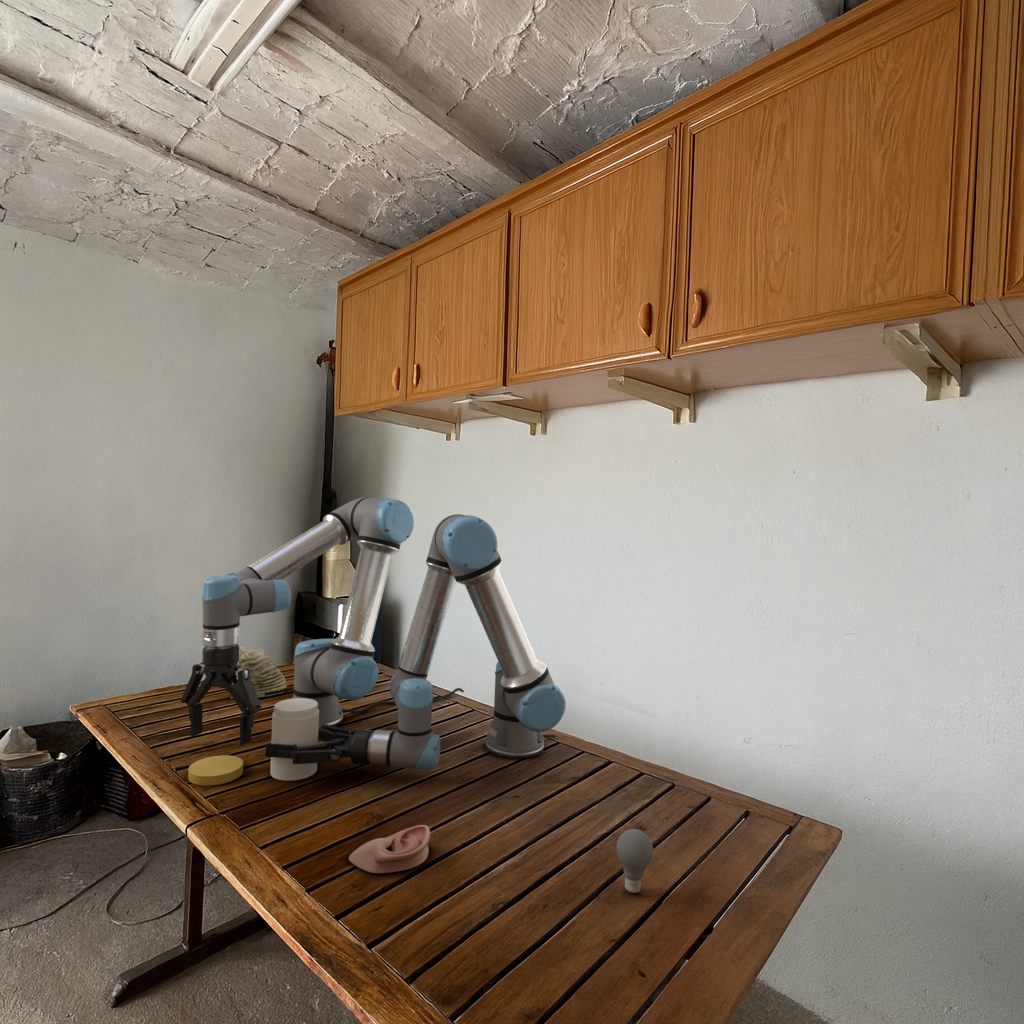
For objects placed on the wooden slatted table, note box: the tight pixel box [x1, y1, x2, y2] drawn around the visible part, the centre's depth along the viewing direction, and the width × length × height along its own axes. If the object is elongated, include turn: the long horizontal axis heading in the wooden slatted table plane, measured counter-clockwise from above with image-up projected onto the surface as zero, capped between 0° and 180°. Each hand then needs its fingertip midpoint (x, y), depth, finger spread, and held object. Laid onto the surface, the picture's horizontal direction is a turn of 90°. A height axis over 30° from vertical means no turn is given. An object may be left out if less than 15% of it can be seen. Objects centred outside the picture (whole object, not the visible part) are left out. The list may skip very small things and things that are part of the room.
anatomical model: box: [348, 824, 431, 874], centre depth 113 cm, size 13×4×12 cm
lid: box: [187, 754, 244, 787], centre depth 142 cm, size 11×11×2 cm
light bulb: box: [615, 828, 654, 894], centre depth 106 cm, size 6×6×10 cm
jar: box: [269, 697, 319, 782], centre depth 145 cm, size 10×10×15 cm
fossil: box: [229, 646, 288, 699], centre depth 198 cm, size 9×18×15 cm, turn 132°
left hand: (220, 738), depth 143 cm, fingers open, 13 cm apart
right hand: (277, 740), depth 146 cm, fingers closed on jar, 10 cm apart
